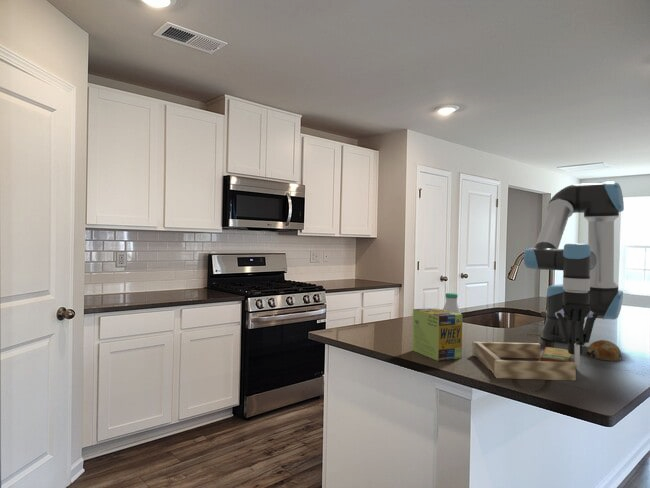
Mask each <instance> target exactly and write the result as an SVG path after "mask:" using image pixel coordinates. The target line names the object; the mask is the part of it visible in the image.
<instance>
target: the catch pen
mask: <svg viewBox="0 0 650 488" xmlns="http://www.w3.org/2000/svg"><path fill="white" fill-rule="evenodd" d="M471 347H472V348H471V349H472V350H471V351H472V352H471V353H472V354H471V355H473V356H476V357H477V358H478V359H477V358H476V357H475V358H476V359H477V360H478V361H480V362H481V363H482V364H483V365H484V366H485V367H486V368H487V369H488V370H489V369H490V370H491V371H492V374H493V376H495V377H496V379H513V380H514V379H515V380H516V379H517V380H546V381H547V380H550V381H551V380H553V381H576V378H577V377H576V374H577V369H576V368H577V365H576V363H574V362H551V361H540V356H541V349H542V347H541V344H540V343H539V342H536V343H535V342H507V341H506V342H504V341H503V342H499V341H497V342H496V341H495V342H494V341H472V345H471ZM473 356H472V357H473ZM501 358H504V359H501ZM505 358H506V359H507V358H509V360H508V359H507V360H506V359H505ZM510 358H511V360H510ZM512 359H536V360H512ZM537 359H539V360H537ZM490 370H489V371H490ZM495 377H494V378H495Z"/></svg>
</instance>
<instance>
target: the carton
mask: <svg viewBox="0 0 650 488" xmlns="http://www.w3.org/2000/svg"><path fill="white" fill-rule="evenodd" d="M570 360H571V354H570V353H568V349H565V348H556V347H549V346H545V348H544V350H543V351H542V353H541V354H540V359H539V361H551V362H570Z"/></svg>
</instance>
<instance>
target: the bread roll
mask: <svg viewBox="0 0 650 488" xmlns="http://www.w3.org/2000/svg"><path fill="white" fill-rule="evenodd" d="M586 349H587V351H586V355H588V356H589V357H590V358H591V359H596V360H601V361H610V362H616V361H617V362H618V361H619V362H620V361H622V358H621V357H622V356H621V355H622V354H621V350H620V347H619V346H618V345H617V344H616V343H613V342H611V341H609V340H605V339H599V340H596V341H594V342H592V343H591V344H589V346H587V347H586Z"/></svg>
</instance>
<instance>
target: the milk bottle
mask: <svg viewBox="0 0 650 488" xmlns="http://www.w3.org/2000/svg"><path fill="white" fill-rule="evenodd" d="M458 298H459V297H458V293H455V292H446V293H445V304H444V306H443V308H442V310H446V311H450V312H454V313H459V314H462V313H461V309H460V307H459V305H458Z"/></svg>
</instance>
